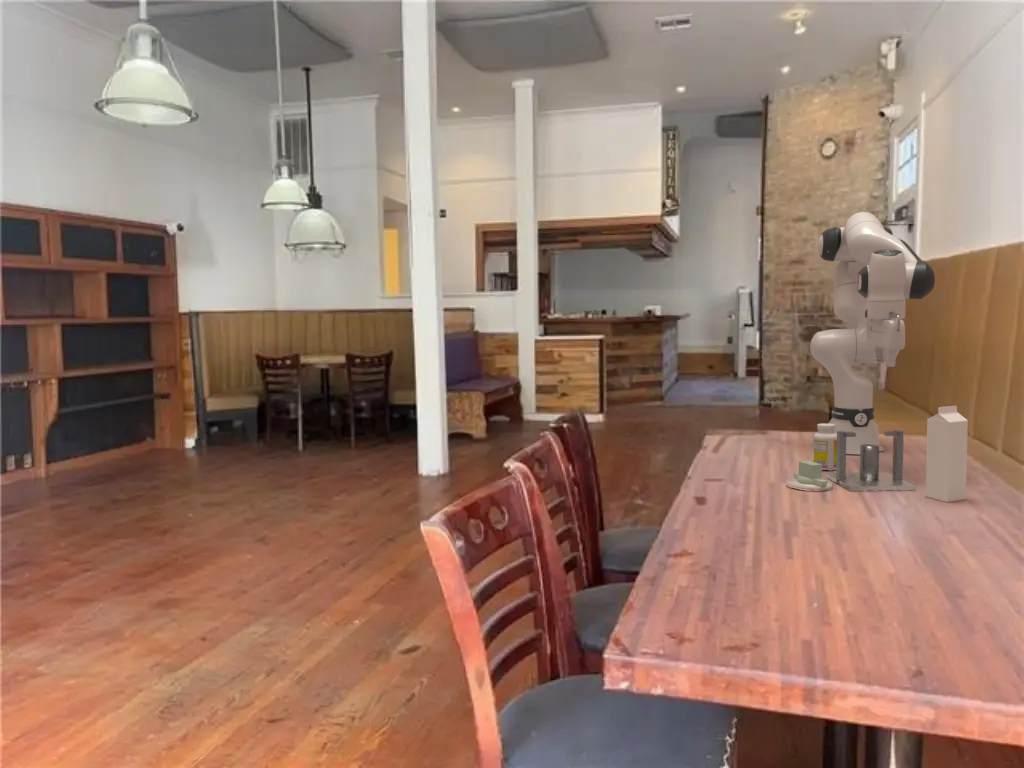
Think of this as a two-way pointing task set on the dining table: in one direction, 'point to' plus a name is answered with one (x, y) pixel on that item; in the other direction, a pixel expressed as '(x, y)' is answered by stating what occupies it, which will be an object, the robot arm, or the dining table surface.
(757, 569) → the dining table surface
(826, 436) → the supplement bottle
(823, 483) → the pale green disc-and-bar piece
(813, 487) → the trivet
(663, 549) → the dining table surface
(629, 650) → the dining table surface
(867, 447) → the twin post base plate
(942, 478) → the milk
